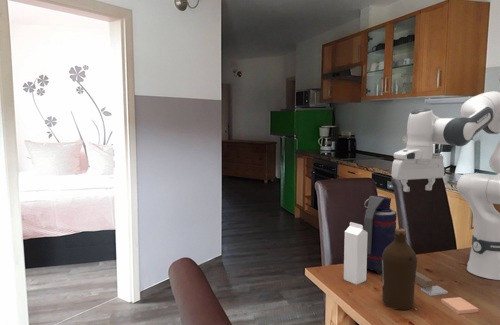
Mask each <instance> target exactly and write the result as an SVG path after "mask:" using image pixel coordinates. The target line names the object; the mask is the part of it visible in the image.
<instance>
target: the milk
mask: <svg viewBox="0 0 500 325" xmlns="http://www.w3.org/2000/svg"><path fill="white" fill-rule="evenodd" d="M367 234H368V232H366V231H365V230H364V224H363V225H362V224H360V223H356V222H352V221H350V222H349V226H348V227H347V228H346V230H344V239H343V240H344V243H343V244H344V247H343V249H344V250H343V251H344V252H343V255H344V256H343V280H344V281H347V282H348V283H351V284H353V285H356V286H357V285H359V284H361V283H365V282H366V281H367V269H368V268H367Z"/></svg>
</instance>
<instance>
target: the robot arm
mask: <svg viewBox="0 0 500 325" xmlns="http://www.w3.org/2000/svg"><path fill="white" fill-rule="evenodd" d="M433 112H434V111H433V109H431V108H421V109H414V110H412V111H411V112H410V113H409V115H408V119H407V123H406V124H407V128H406V136H407V142H406V146H405V147H406V148H403V149H400V150H398V151H396V152H394V153H393V158H394V159H393V161H392V166H391V178H392V179H393V180H397V181H400V184H401V185H402V189H403V192H405V193H409V192H411V190H410V188H411V187H410V186H408V184H407V183H409V182H408V181H409V180H422V179H423V180H426V179H427V181H428V183H427V184H426V185H424V186H425V188H424V190H425V191H432V190H433V185H434V184H435V182H436V179H443V177H444V176H445V162H444V155H442V154H441V153H440V152H437V153H435V152H433V149H434V145H445V146H446V145H449V146H454V147H456V146H457V147H465V146H466V145H468V143H470V142H471V140H472V139H473V138H474V136H476V134H478V133H479V132H480V131H482V130H483V131H484V133H486V134H488V135H489V134H491V135H498V134H500V92H499V91H496V90H495V91H487V92H482V93H480V94H477V95H474V96H473V97H471V98H469V99H467V100H465V102H464V103H462V105H461V107H460V117H445V118H444V117H441V118H440V116H437V115H436V114H434V113H433ZM488 164H489V167H490V169H491V170H492V171H493V172H494V173H495V174H490V173H489V174H488V173H479V172H475V173H474V172H473V173H463V174H462V175H461V176H460V177H459V178H458V180H457V183H456V190H457V192H458V194H459V196H461V198H463V199H464V200H465V202H466V203H467V204H468V206H469V207H470V208H469V209H471V213H472V216H473V217H472V218H473V234H472V235H471V248H470V253H469V254H470V255H469V259H468V261H467V264H466V265H467V267H466V270H467V271H468V272H469V273H470V274H472V275H475V276H478V277H480V278H485V279H489V280H495V281H500V212H499V211H498V210H496V208H495V206H494V205H495V204H496V205H500V140H499V141H498V143H497V145H496V146H495V148H494V150H493V152H492V154H491V156H490V158H489V162H488Z"/></svg>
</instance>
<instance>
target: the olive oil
mask: <svg viewBox="0 0 500 325" xmlns="http://www.w3.org/2000/svg"><path fill="white" fill-rule="evenodd" d="M406 232H407V231H406V229H405V228H401V227H398V228H397V227H396V229H395V240H394V241H393V242H392V243H391V244H389V245H388V246H387V247H386V248H385V249H384V252H383V254H382V274H381V275H382V303H383V304H384V305H385V306H386V307H389V308H391V309H393V310H394V309H395V310H401V311H403V310H404V311H405V310H410V309H412V308H413V306H414V297H415V286H416V282H415V277H416V271H417V265H418V258H417V254H416V252H415V251H414V249H413V248H412V247H411V246H410V245H409V244H408V243H407V241H406V238H407V233H406Z"/></svg>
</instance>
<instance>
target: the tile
mask: <svg viewBox="0 0 500 325" xmlns="http://www.w3.org/2000/svg"><path fill="white" fill-rule="evenodd" d="M440 300H441V301H440V303H442V304H443V305H445V306H446V307H447V308H449V309H450V310H452V312H454V313H456V314H458V315H463V314H473V313H479V308H478V307H476V305H473V304H472V303H470V302H468V301H467V300H465V299H464V298H463V297H461V296H460V297H459V296H458V297H448V298H441V299H440Z"/></svg>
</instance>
